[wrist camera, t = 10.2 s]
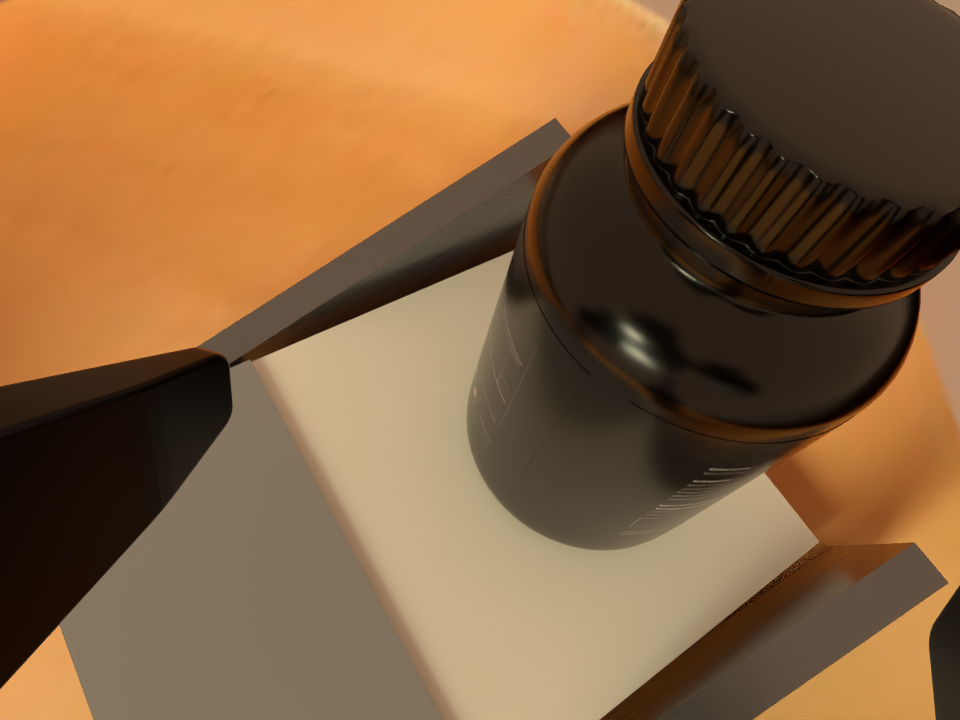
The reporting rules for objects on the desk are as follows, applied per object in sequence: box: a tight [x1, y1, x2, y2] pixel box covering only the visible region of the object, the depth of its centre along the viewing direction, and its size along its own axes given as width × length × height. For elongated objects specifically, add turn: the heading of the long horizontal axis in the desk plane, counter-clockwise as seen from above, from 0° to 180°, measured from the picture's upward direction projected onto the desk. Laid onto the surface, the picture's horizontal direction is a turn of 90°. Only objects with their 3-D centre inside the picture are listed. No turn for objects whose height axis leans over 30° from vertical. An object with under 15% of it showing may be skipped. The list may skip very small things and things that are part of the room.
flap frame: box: [196, 118, 948, 720], centre depth 19 cm, size 18×15×5 cm
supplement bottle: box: [466, 0, 960, 550], centre depth 13 cm, size 7×7×12 cm
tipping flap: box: [59, 250, 819, 720], centre depth 18 cm, size 17×12×3 cm
